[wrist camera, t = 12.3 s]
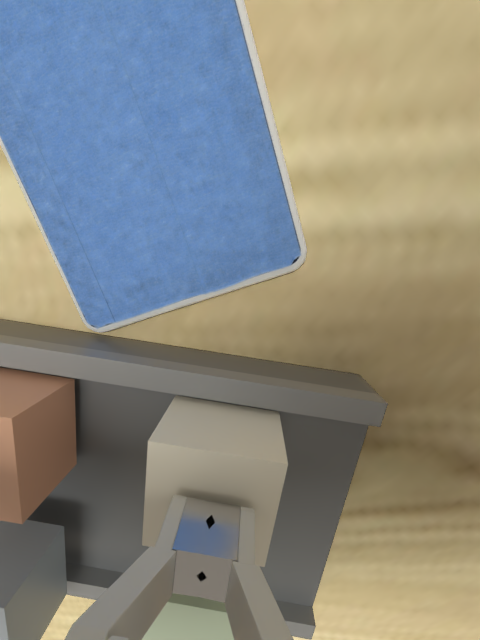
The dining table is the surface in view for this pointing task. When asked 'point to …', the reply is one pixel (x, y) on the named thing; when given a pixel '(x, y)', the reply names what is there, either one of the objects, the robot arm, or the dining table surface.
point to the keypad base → (142, 419)
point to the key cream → (216, 463)
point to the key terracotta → (34, 439)
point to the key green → (191, 620)
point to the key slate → (30, 578)
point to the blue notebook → (146, 151)
